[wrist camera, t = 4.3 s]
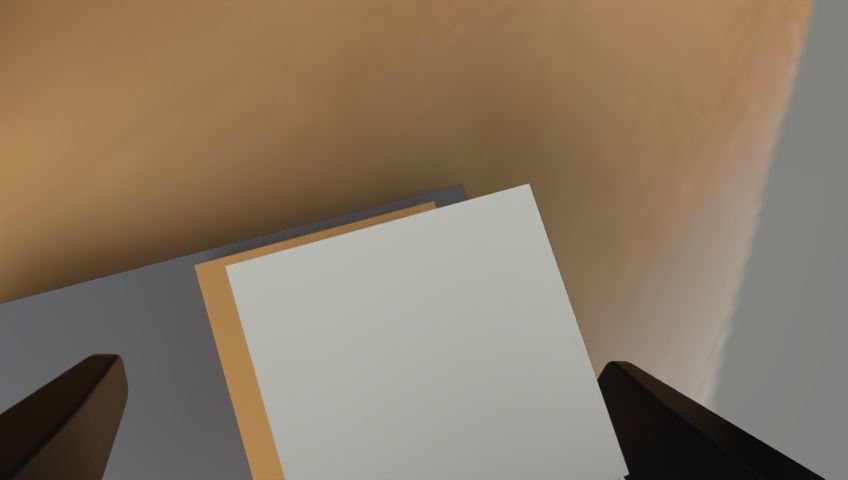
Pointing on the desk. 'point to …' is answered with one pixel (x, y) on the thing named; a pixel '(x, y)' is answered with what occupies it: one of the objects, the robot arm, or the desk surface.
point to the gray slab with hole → (153, 355)
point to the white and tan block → (411, 351)
